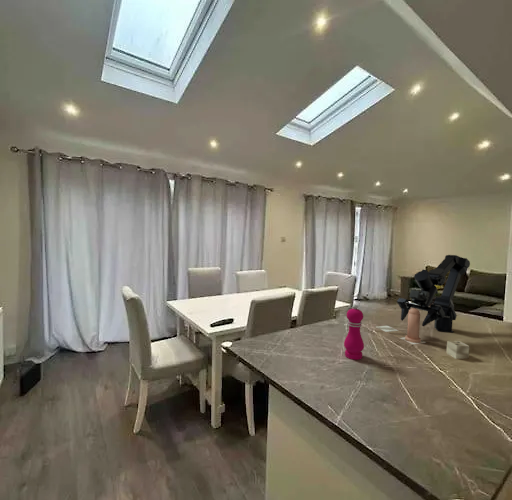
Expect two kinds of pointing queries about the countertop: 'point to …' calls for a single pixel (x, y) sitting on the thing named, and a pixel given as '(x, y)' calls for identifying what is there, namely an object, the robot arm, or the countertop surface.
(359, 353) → the pepper mill
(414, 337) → the tan knob handle
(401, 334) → the board
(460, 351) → the die
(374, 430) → the countertop surface
